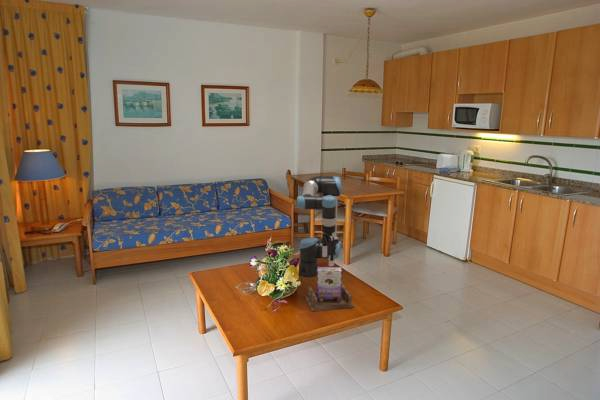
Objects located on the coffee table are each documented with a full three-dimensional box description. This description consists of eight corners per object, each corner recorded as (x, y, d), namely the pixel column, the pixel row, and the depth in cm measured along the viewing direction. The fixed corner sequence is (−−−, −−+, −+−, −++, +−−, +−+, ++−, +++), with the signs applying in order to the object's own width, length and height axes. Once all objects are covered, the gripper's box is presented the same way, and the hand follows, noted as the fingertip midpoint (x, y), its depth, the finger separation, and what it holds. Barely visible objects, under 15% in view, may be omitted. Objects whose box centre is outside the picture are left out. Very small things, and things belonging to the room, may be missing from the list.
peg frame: (304, 296, 231) (304, 285, 230) (344, 293, 236) (344, 282, 234) (311, 311, 214) (311, 299, 213) (354, 307, 219) (354, 295, 217)
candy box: (341, 294, 227) (341, 266, 223) (341, 298, 221) (342, 270, 218) (316, 293, 228) (317, 266, 224) (316, 297, 222) (316, 270, 219)
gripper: (316, 218, 230) (315, 253, 234) (328, 232, 206) (327, 270, 211) (328, 218, 231) (328, 252, 236) (342, 231, 207) (341, 269, 212)
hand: (327, 261), depth 223 cm, fingers open, 13 cm apart
